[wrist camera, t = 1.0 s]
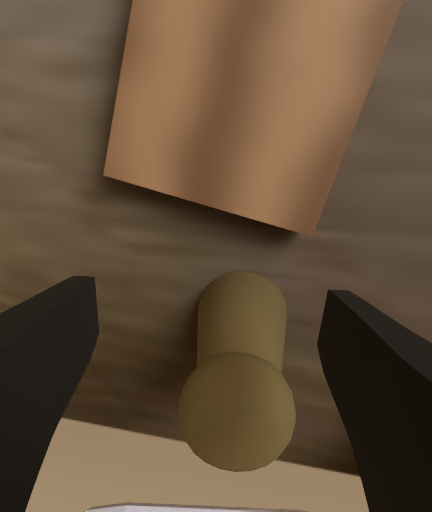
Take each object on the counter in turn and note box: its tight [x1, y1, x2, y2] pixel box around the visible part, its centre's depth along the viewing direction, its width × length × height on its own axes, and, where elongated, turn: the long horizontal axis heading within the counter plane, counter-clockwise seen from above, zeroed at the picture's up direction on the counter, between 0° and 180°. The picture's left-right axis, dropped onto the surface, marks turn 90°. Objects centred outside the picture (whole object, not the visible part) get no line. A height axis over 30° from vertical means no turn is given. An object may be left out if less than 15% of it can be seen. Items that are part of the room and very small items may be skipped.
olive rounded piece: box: [178, 271, 296, 472], centre depth 21 cm, size 6×6×11 cm
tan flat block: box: [103, 0, 403, 237], centre depth 20 cm, size 12×12×2 cm
